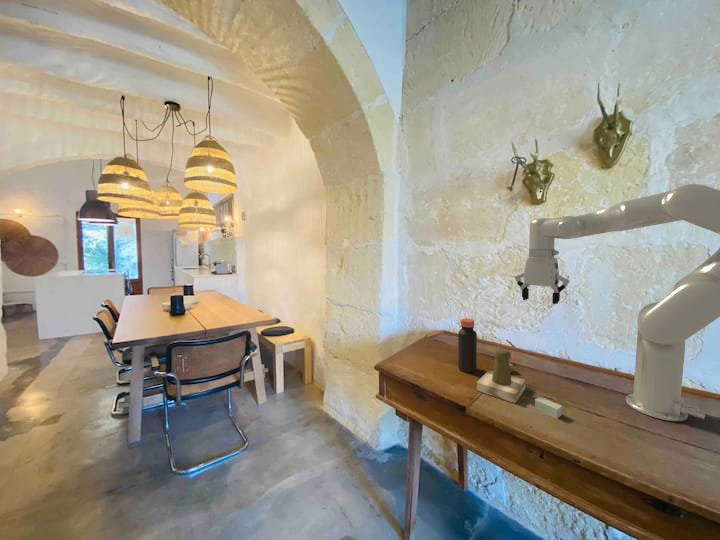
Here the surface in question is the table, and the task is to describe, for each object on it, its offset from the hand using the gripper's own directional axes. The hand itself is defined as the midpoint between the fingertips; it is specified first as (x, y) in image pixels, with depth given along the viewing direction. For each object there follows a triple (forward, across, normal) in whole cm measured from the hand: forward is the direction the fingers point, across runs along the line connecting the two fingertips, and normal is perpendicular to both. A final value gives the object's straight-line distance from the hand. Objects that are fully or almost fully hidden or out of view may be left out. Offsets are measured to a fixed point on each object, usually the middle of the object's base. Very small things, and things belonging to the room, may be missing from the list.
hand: (539, 301), depth 103 cm
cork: (+26, +4, +19) cm, 32 cm away
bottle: (+28, +20, +14) cm, 38 cm away
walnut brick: (+28, +10, +5) cm, 31 cm away
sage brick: (+28, -11, +21) cm, 37 cm away
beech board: (+28, +4, +19) cm, 34 cm away
